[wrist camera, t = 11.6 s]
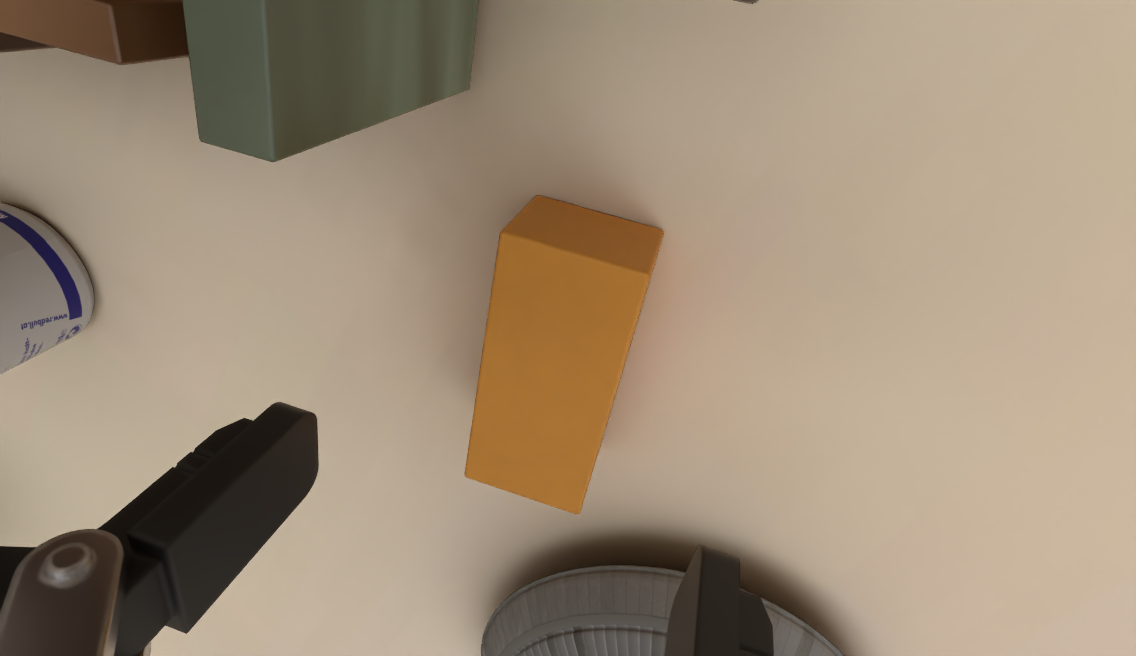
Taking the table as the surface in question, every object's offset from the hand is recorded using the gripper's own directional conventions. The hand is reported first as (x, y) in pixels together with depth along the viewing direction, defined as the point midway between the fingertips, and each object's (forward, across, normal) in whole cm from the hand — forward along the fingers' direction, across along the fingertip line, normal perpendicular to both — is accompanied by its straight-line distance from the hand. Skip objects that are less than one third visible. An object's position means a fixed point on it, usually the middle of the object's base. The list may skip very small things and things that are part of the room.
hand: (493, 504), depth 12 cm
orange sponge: (+7, 0, 0) cm, 7 cm away
